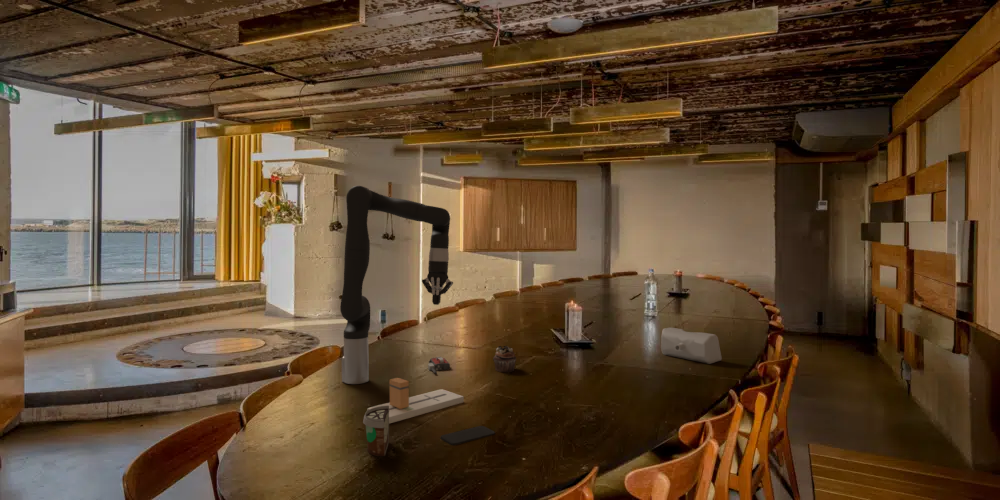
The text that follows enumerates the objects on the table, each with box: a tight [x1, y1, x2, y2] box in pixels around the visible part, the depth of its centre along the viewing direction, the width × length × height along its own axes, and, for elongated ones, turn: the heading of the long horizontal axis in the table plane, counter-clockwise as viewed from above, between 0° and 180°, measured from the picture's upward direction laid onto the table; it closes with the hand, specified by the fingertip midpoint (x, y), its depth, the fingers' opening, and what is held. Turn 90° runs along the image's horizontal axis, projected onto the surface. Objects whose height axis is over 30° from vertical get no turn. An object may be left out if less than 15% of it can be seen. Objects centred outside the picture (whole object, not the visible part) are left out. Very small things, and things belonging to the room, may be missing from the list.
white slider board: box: [366, 388, 465, 425], centre depth 182 cm, size 30×12×2 cm, turn 134°
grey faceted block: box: [660, 326, 723, 365], centre depth 251 cm, size 25×16×12 cm, turn 40°
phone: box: [440, 425, 496, 446], centre depth 158 cm, size 7×1×15 cm
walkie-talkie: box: [427, 356, 451, 375], centre depth 233 cm, size 9×4×20 cm
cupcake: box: [493, 345, 517, 373], centre depth 231 cm, size 10×10×10 cm
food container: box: [362, 406, 390, 457], centre depth 148 cm, size 12×6×10 cm, turn 5°
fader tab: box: [388, 377, 410, 409], centre depth 177 cm, size 3×6×8 cm, turn 44°
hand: (436, 304), depth 214 cm, fingers closed
